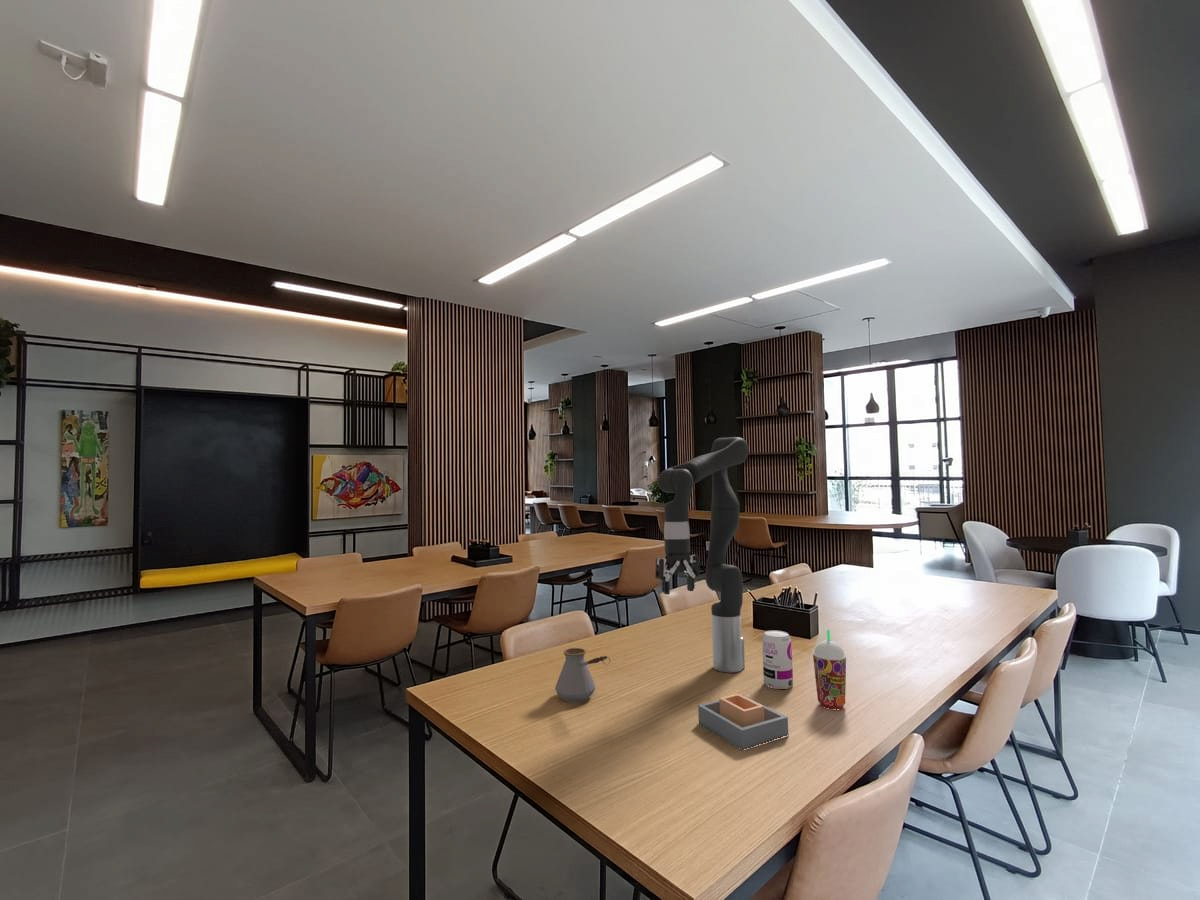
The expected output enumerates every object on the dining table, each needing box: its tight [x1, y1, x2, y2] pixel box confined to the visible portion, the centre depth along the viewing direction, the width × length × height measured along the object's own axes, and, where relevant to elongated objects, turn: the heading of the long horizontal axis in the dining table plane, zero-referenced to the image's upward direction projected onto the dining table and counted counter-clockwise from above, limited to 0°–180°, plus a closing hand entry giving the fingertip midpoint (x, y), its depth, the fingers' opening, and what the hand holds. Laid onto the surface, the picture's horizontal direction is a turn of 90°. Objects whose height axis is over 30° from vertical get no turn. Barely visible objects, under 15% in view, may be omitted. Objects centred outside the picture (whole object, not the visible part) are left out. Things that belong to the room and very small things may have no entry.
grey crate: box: [697, 694, 789, 751], centre depth 132 cm, size 14×16×4 cm
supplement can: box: [761, 629, 794, 690], centre depth 161 cm, size 8×8×15 cm
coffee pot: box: [555, 647, 611, 704], centre depth 151 cm, size 21×12×15 cm, turn 36°
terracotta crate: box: [719, 693, 765, 728], centre depth 132 cm, size 6×9×6 cm, turn 27°
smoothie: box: [812, 629, 847, 711], centre depth 145 cm, size 8×8×20 cm
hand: (678, 592), depth 160 cm, fingers open, 8 cm apart
